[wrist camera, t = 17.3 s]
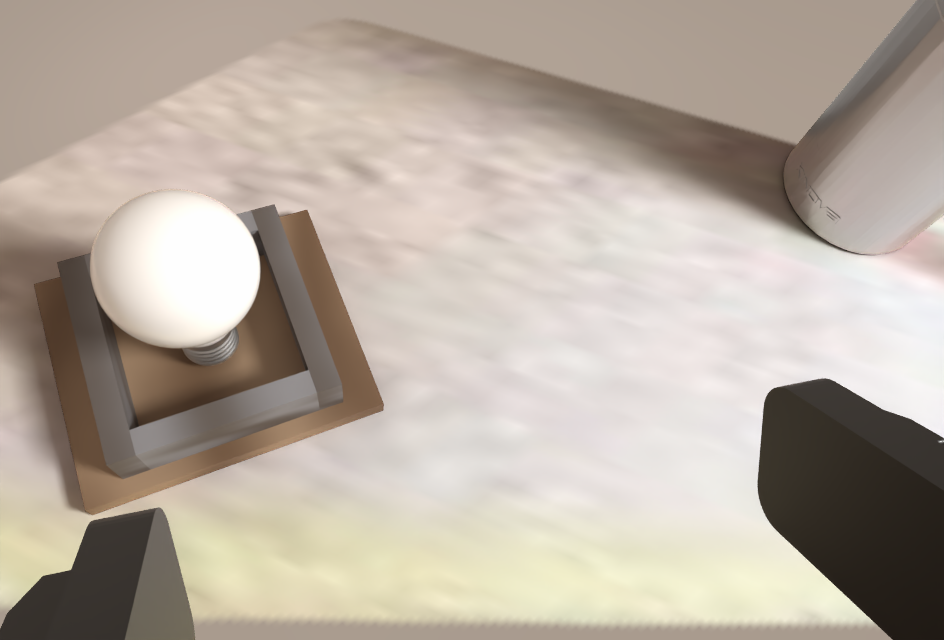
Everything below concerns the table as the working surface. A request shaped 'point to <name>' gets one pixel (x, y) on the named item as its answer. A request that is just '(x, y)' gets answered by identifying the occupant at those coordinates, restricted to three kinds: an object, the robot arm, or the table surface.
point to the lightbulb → (177, 272)
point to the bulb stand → (205, 374)
